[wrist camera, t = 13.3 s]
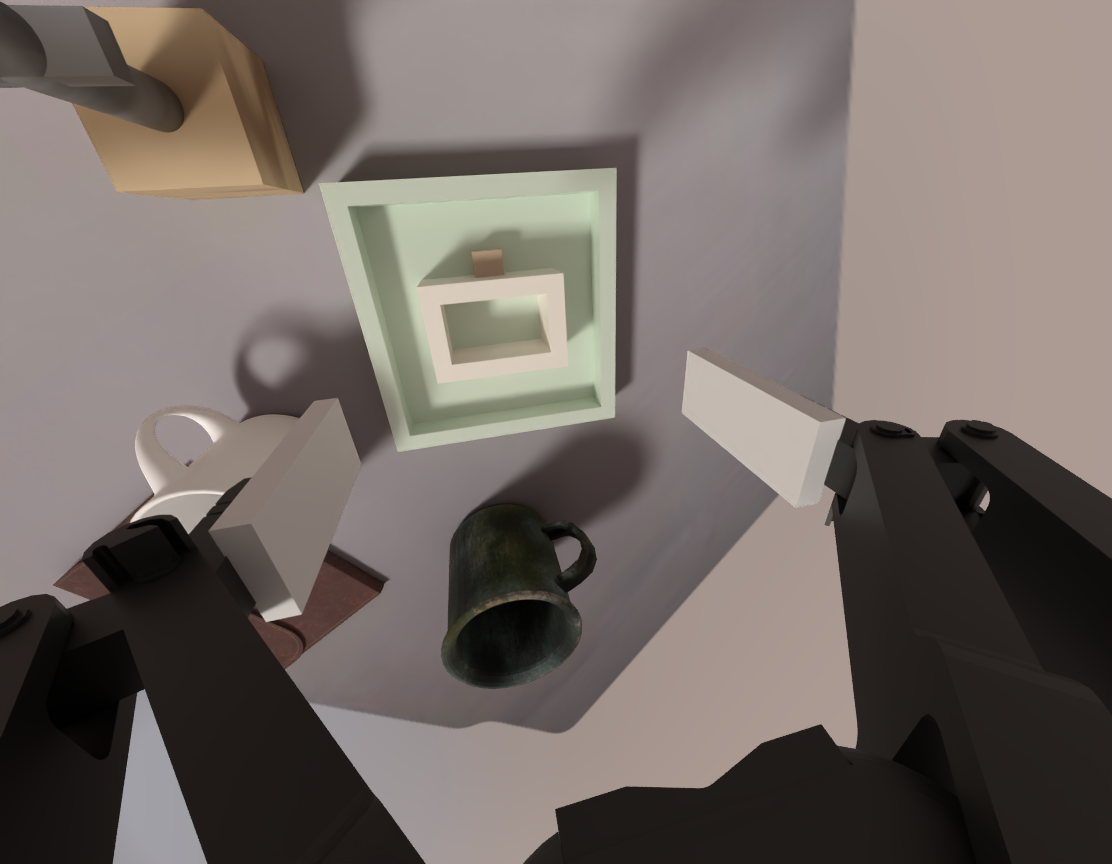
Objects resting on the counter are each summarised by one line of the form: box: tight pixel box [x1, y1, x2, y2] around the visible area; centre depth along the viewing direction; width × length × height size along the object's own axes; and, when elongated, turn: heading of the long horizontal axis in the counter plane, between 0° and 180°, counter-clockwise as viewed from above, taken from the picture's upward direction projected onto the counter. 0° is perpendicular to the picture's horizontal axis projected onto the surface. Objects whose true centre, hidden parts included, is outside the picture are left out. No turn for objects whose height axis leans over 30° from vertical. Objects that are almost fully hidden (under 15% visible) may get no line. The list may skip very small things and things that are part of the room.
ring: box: [417, 248, 568, 384], centre depth 28 cm, size 9×8×4 cm
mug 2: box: [441, 504, 597, 689], centre depth 36 cm, size 11×15×12 cm
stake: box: [0, 2, 304, 200], centre depth 17 cm, size 6×6×13 cm
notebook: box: [53, 494, 384, 669], centre depth 36 cm, size 15×20×2 cm
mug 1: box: [130, 405, 300, 534], centre depth 27 cm, size 9×12×11 cm
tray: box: [319, 168, 617, 452], centre depth 30 cm, size 18×18×3 cm
